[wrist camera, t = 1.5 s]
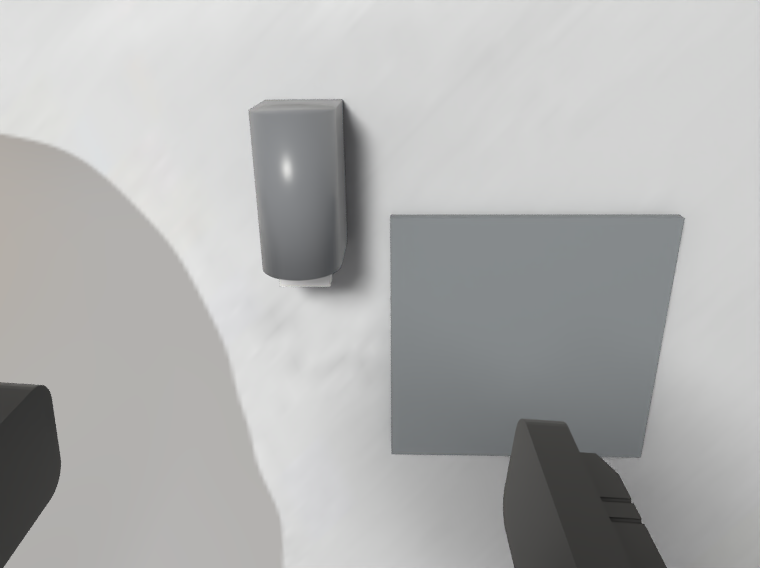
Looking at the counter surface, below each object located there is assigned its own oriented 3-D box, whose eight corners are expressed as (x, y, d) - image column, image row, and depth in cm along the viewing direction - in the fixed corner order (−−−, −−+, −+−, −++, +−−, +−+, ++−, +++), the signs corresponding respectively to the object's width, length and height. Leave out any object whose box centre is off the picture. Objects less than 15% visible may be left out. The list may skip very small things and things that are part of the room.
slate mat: (679, 214, 31) (684, 218, 30) (636, 450, 36) (640, 457, 36) (390, 214, 31) (390, 218, 31) (391, 447, 37) (391, 454, 36)
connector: (342, 99, 29) (330, 115, 25) (348, 264, 32) (338, 306, 28) (265, 99, 29) (239, 115, 25) (278, 264, 33) (257, 305, 28)
